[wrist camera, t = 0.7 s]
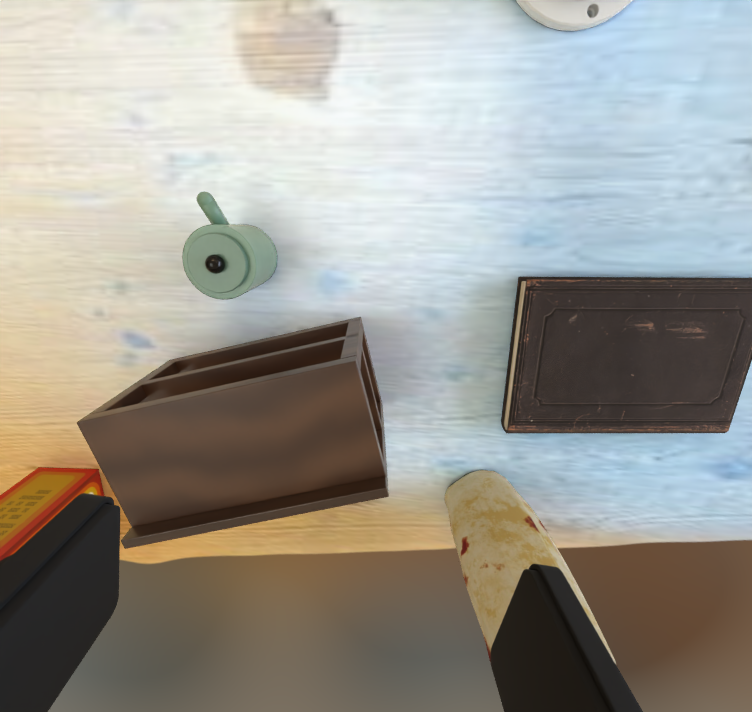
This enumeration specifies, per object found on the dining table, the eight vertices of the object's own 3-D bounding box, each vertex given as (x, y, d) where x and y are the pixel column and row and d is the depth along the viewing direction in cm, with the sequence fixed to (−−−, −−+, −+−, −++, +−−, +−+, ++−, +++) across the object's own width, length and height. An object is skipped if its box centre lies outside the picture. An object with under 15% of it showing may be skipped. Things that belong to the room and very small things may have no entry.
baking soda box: (38, 467, 43) (-141, 597, 28) (98, 469, 43) (-48, 599, 28) (57, 535, 46) (-96, 687, 31) (112, 537, 46) (-13, 688, 31)
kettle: (198, 204, 35) (145, 197, 27) (257, 189, 35) (223, 178, 26) (228, 292, 37) (189, 310, 29) (284, 278, 37) (260, 293, 29)
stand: (169, 360, 39) (60, 432, 26) (360, 316, 38) (355, 368, 24) (204, 444, 43) (124, 549, 29) (382, 406, 41) (388, 496, 28)
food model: (436, 509, 46) (483, 710, 27) (446, 460, 44) (505, 641, 25) (517, 516, 46) (619, 719, 27) (531, 469, 44) (652, 652, 25)
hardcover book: (518, 276, 37) (527, 279, 35) (754, 277, 38) (778, 281, 35) (500, 425, 42) (507, 436, 40) (709, 425, 43) (727, 436, 40)
